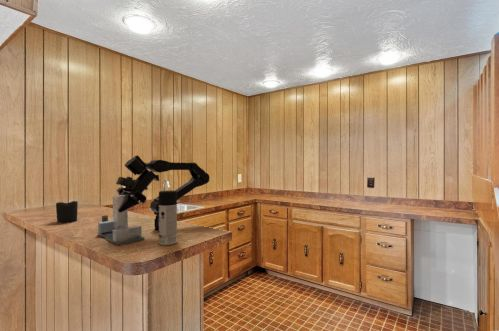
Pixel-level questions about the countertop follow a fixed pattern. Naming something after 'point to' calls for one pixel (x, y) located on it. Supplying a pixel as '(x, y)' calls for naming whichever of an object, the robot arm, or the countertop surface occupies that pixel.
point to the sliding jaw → (105, 225)
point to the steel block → (119, 218)
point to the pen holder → (66, 212)
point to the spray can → (167, 217)
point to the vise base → (110, 238)
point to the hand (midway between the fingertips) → (116, 211)
